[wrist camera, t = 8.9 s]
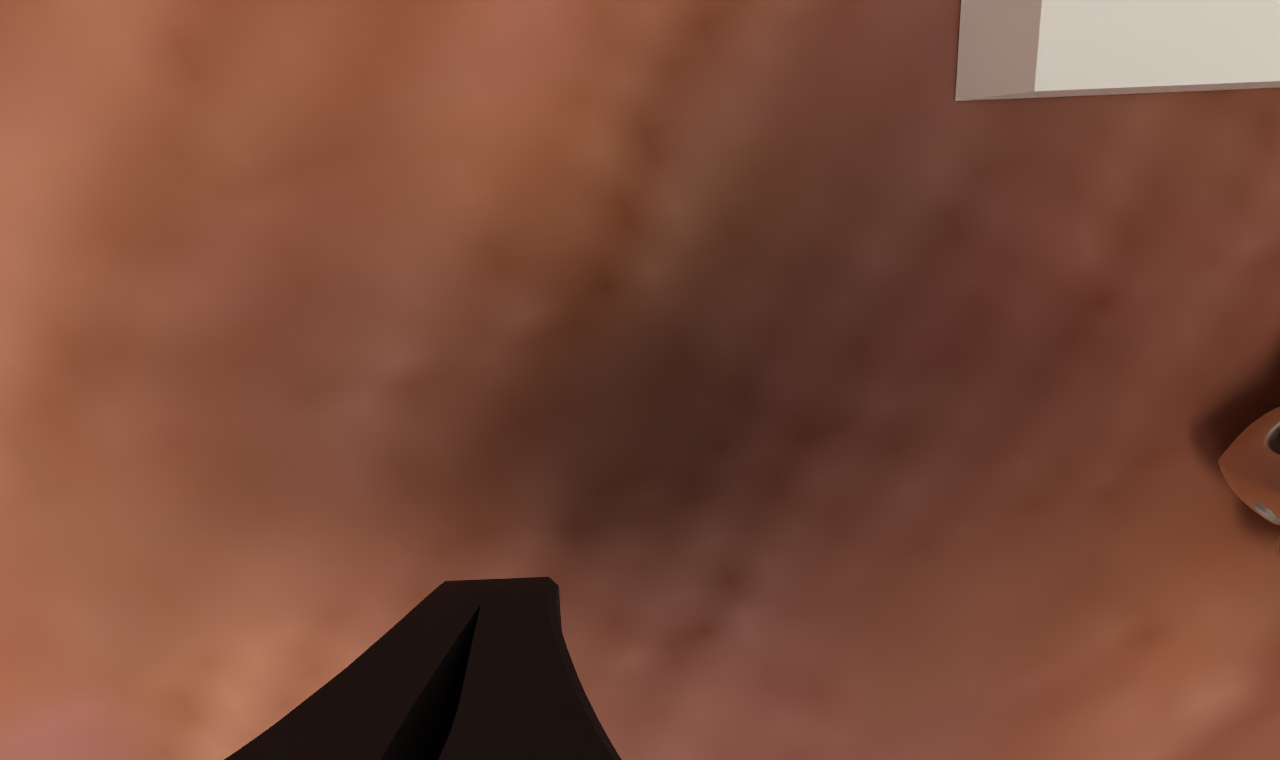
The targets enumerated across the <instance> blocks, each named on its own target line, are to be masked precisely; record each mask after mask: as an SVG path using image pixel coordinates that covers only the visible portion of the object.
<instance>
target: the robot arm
mask: <svg viewBox="0 0 1280 760" xmlns="http://www.w3.org/2000/svg"><path fill="white" fill-rule="evenodd" d="M224 760H621V758H620V757H619V755H618V753H617V752H616V750H615V748H614V747H613V745H612V743H611V742H610V740H609V738H608V736H607V735H606V733H605V731H604V729H603V727H602V726H601V724H600V722H599V720H598V718H597V716H596V714H595V712H594V710H593V708H592V706H591V704H590V702H589V700H588V698H587V696H586V694H585V692H584V689H583V687H582V685H581V683H580V680H579V678H578V676H577V673H576V670H575V668H574V665H573V663H572V660H571V657H570V655H569V652H568V649H567V647H566V644H565V640H564V637H563V634H562V630H561V615H560V600H559V586H558V585H557V584H556V583H555V582H554V581H553V580H552V579H550V578H549V577H536V578H511V579H486V580H461V581H445V582H444V583H443V584H441V585H440V586H439V587H437V588H436V589H435V590H434V591H433V592H432V593H430V594H429V595H428V596H427V597H426V598H425V599H424V600H423V601H421V602H420V603H419V604H418V605H417V606H416V607H415V608H414V609H413V610H411V611H410V612H409V613H408V614H407V615H406V616H405V617H404V618H403V619H402V620H400V621H399V622H398V623H397V624H396V625H395V626H394V627H393V628H392V629H390V630H389V631H388V632H387V633H386V634H385V635H384V636H382V637H381V638H380V639H379V640H378V641H377V642H375V643H374V644H373V645H372V646H371V647H370V648H369V649H367V650H366V651H365V652H364V653H363V654H362V655H361V656H359V657H358V658H357V659H356V660H355V661H354V662H353V663H351V664H350V665H349V666H348V667H347V668H346V669H344V670H343V671H342V672H341V673H339V674H338V675H337V676H336V677H334V678H333V679H332V680H330V681H329V682H328V683H327V684H325V685H324V686H323V687H322V688H320V689H319V690H318V691H316V692H315V693H314V694H313V695H311V696H310V697H309V698H308V699H306V700H305V701H304V702H302V703H301V704H300V705H299V706H297V707H296V708H295V709H294V710H292V711H291V712H290V713H289V714H287V715H286V716H285V717H283V718H282V719H281V720H280V721H278V722H277V723H276V724H274V725H273V726H272V727H270V728H269V729H268V730H266V731H265V732H263V733H262V734H261V735H259V736H258V737H256V738H255V739H254V740H252V741H251V742H249V743H248V744H246V745H245V746H244V747H242V748H241V749H239V750H238V751H236V752H235V753H233V754H232V755H231V756H229V757H227V758H226V759H224Z"/></svg>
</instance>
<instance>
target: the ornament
mask: <svg viewBox="0 0 1280 760" xmlns="http://www.w3.org/2000/svg"><path fill="white" fill-rule="evenodd" d="M1218 464H1219V467H1220V469H1221V472H1222V474H1223V476H1224V478H1225V480H1226V482H1227V483H1228V485H1229V486H1230V487H1231V489H1232V490H1233V492H1234V493H1235V494H1236V495H1237V496H1238V497H1239V498H1240V499H1241V500H1242V501H1243V502H1244V503H1245V504H1246V505H1247V506H1249V507H1250V508H1251V509H1252V510H1254V511H1255V512H1256V513H1258V514H1259V515H1260V516H1262V517H1263V518H1265V519H1266V520H1268V521H1270V522H1271V523H1274V524H1277V525H1280V406H1279V407H1277V408H1275V409H1273V410H1271V411H1269V412H1267V413H1266V414H1264V415H1263V416H1261V417H1260V418H1258V419H1257V420H1256V421H1254V422H1253V423H1251V424H1250V425H1249V426H1248V427H1247V428H1246V429H1245V430H1244V431H1243V432H1242V433H1241V434H1240V435H1239V436H1238V437H1237V438H1236V439H1235V440H1234V441H1233V442H1232V443H1231V445H1230V446H1229V447H1228V448H1227V449H1226V451H1225V452H1224V453H1223V454H1222V455H1221V457H1220V458H1219V460H1218ZM1277 553H1278V559H1279V562H1280V537H1279V540H1278V545H1277Z"/></svg>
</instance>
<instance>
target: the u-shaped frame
mask: <svg viewBox="0 0 1280 760" xmlns="http://www.w3.org/2000/svg"><path fill="white" fill-rule="evenodd" d="M1257 88H1280V0H961V13H960V30H959V46H958V63H957V80H956V96H955V101H968V100H992V99H1016V98H1040V97H1064V96H1088V95H1112V94H1136V93H1160V92H1184V91H1208V90H1232V89H1257Z"/></svg>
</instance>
